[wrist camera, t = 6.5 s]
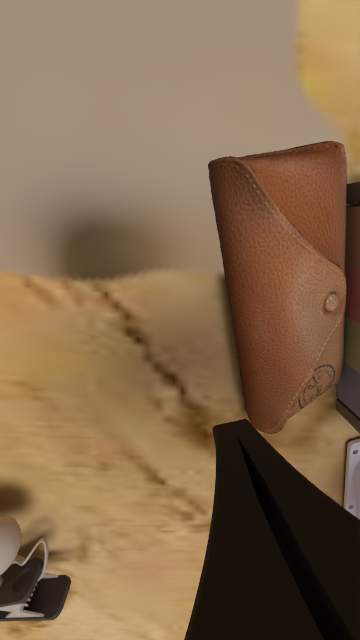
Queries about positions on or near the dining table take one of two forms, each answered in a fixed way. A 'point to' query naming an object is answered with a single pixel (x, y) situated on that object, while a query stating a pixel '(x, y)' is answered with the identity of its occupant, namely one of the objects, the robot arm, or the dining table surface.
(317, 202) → the sunglasses case
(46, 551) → the clip-on lamp
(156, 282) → the dining table surface
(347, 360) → the book row
